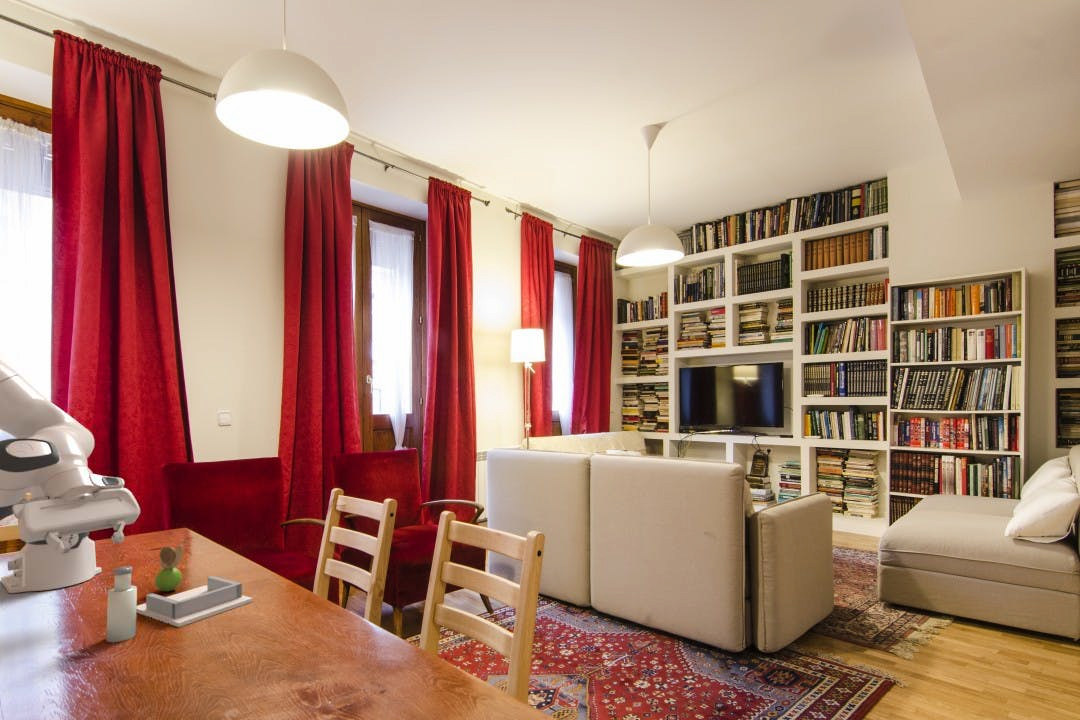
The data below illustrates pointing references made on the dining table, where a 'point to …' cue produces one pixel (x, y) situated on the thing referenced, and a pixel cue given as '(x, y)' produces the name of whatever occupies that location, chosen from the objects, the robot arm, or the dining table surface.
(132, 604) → the pale green bottle
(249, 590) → the dining table surface
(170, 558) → the snail figurine
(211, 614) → the u stand
